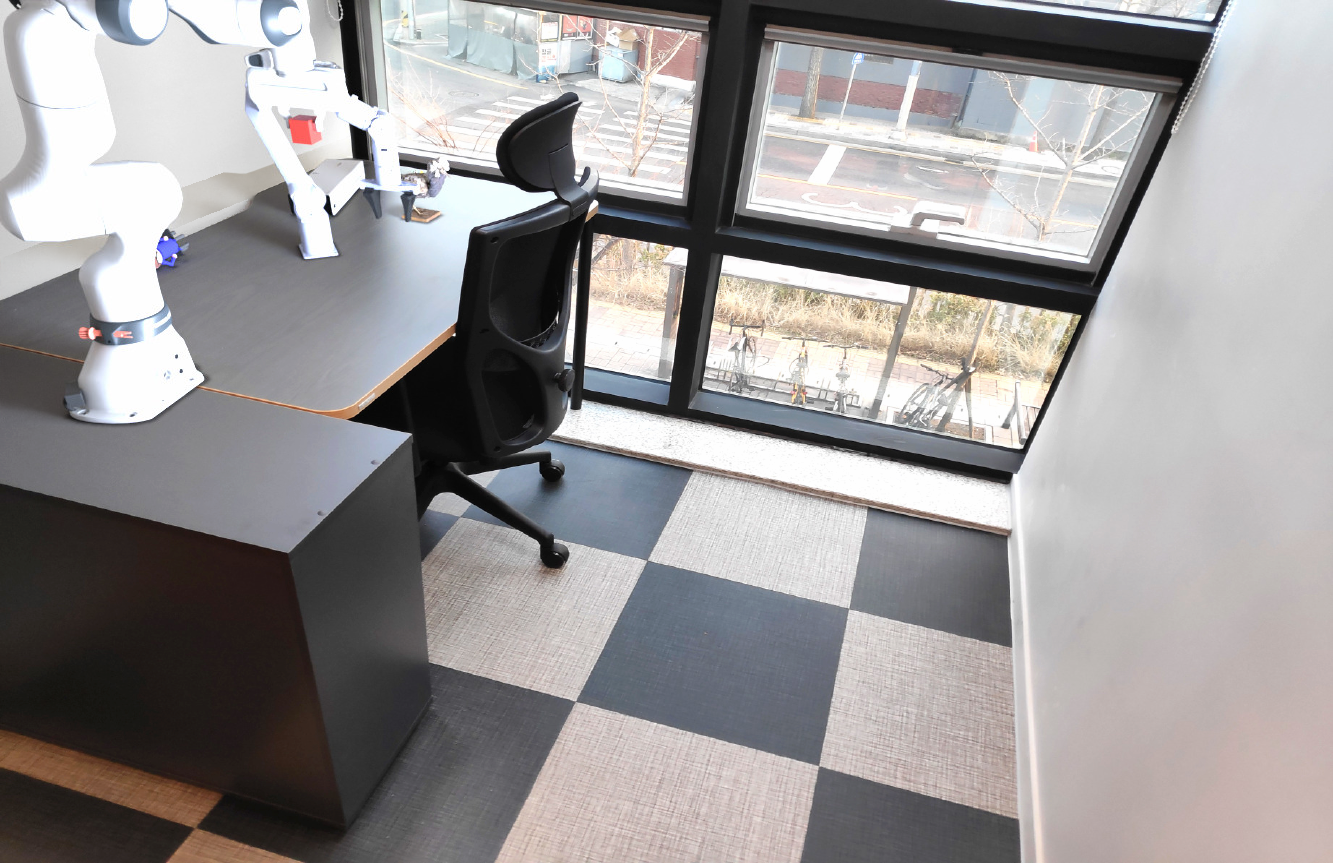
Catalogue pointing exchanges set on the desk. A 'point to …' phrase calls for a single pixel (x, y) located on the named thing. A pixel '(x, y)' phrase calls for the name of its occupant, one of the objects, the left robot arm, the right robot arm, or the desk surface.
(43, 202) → the left robot arm
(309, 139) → the brick
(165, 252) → the character figurine
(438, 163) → the stuffed bird
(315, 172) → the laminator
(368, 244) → the desk surface
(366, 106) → the right robot arm
